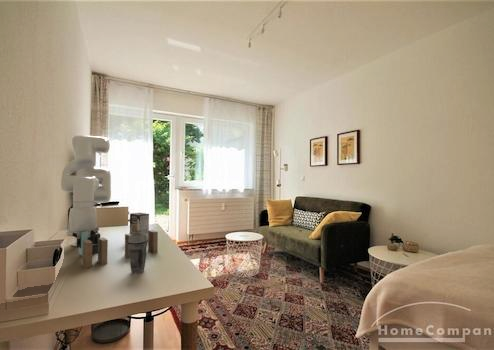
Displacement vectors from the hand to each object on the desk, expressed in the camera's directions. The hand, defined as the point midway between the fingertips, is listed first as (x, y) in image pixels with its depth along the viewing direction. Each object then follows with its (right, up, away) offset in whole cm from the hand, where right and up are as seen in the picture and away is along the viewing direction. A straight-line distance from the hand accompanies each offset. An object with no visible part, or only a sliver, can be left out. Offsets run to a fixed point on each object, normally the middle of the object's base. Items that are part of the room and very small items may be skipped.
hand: (82, 246), depth 104 cm
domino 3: (+18, -6, +5) cm, 20 cm away
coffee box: (+11, -7, +31) cm, 33 cm away
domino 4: (+25, -6, +13) cm, 29 cm away
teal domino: (0, -3, 0) cm, 3 cm away
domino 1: (+6, -6, -7) cm, 11 cm away
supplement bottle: (-3, -7, +11) cm, 13 cm away
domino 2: (+10, -6, -3) cm, 12 cm away
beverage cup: (+30, -6, -12) cm, 33 cm away
